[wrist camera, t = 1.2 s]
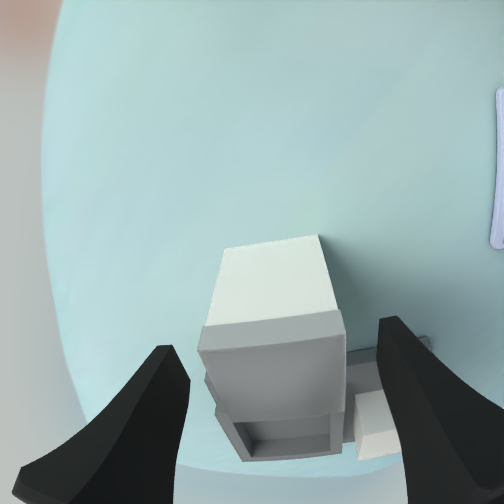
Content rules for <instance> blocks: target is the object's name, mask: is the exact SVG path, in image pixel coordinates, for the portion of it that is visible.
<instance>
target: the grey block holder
mask: <svg viewBox="0 0 504 504" xmlns="http://www.w3.org/2000/svg"><path fill="white" fill-rule="evenodd" d="M418 339H419V340H420V341H421V342H422V343H423V344H424V345H425V346H426V347H427V348H428V349H429V350H430V351H431V350H432V347H431V345H430V342H429V340H428V338H427V336H425V337H421V338H418ZM376 353H377V347H374V348H369V349H364V350H358V351H352V352H347V353H346V391H345V412H340V413H334V414H327V415H320V416H312V417H304V418H294V419H284V420H272V421H257V422H233V423H232V421H231V419H230V418H229V416H228V414H227V412H226V410H225V408H224V406H223V404H222V402H221V400H220V398H219V396H218V394H217V392H216V389H215V387H214V385H213V383H212V381H211V379H210V377H209V375H208V373H207V371H206V375H205V380H204V381H205V383H206V385H207V387H208V389H209V391H210V393H211V395H212V397H213V399H214V401H215V403H216V409H215V416H216V418H217V420H218V422H219V423H220V425H221V427H222V429H223V430H224V432H225V434H226V435H227V437H228V439H229V440H230V442H231V444H232V445H233V447H234V449H235V450H236V452H237V454H238V455H239V457H240V458H241V460H242V462H251V461H275V460H289V459H300V458H310V457H318V456H326V455H333V454H340V453H342V443H347V442H353V441H355V444H356V451H357V457H358V461H360V460H365V459H370V458H375V457H380V456H384V455H388V454H393V453H397V452H401V445H400V441H399V437H398V433H397V430H396V427H395V424H394V421H393V418H392V415H391V412H390V408H389V405H388V402H387V399H386V396H385V393H384V390H383V387H382V384H381V380H380V376H379V371H378V366H377V362H376Z"/></svg>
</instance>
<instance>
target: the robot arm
mask: <svg viewBox="0 0 504 504" xmlns="http://www.w3.org/2000/svg"><path fill="white" fill-rule="evenodd" d="M496 110H497V176H496V191H495V202H494V212H493V220H492V228H491V235H490V245H491V246H492V247H493V248H494V249H495V250H499V249H503V248H504V87H501V88H499V89H498V90H497V92H496ZM376 362H377V366H378V371H379V376H380V380H381V384H382V387H383V390H384V393H385V396H386V399H387V402H388V405H389V408H390V412H391V415H392V418H393V421H394V424H395V427H396V430H397V433H398V437H399V441H400V445H401V451H402V456H403V463H404V469H405V477H406V484H407V496H408V504H504V409H503V408H501V407H500V406H498V405H496V404H495V403H493V402H491V401H490V400H488V399H487V398H485V397H484V396H482V395H481V394H480V393H478V392H477V391H475V390H474V389H473V388H471V387H470V386H469V385H467V384H466V383H465V382H464V381H463V380H461V379H460V378H459V377H458V376H457V375H455V374H454V373H453V372H452V371H451V370H450V369H449V368H448V367H446V366H445V365H444V364H443V363H442V362H441V361H440V360H439V359H438V358H437V357H436V356H435V355H434V354H433V353H432V352H431V351H430V350H429V349H428V348H427V347H426V346H425V345H424V344H423V343H422V342H421V341H420V340H419V339H418V338H417V337H416V336H415V335H414V334H413V333H412V331H411V330H410V329H409V328H408V327H407V326H406V325H405V324H404V323H403V322H402V321H401V319H400V318H399V317H397V316H392V317H387V318H381V319H379V331H378V343H377V353H376ZM190 381H191V380H190V378H189V376H188V374H187V373H186V371H185V369H184V367H183V365H182V363H181V361H180V359H179V357H178V355H177V353H176V351H175V349H174V347H173V345H159V346H157V347H156V348H155V349H154V350H153V351H152V353H151V354H150V355H149V356H148V357H147V359H146V360H145V361H144V363H143V364H142V365H141V366H140V368H139V369H138V370H137V371H136V373H135V374H134V375H133V376H132V377H131V379H130V380H129V381H128V382H127V383H126V385H125V386H124V387H123V388H122V389H121V391H120V392H119V393H118V394H117V395H116V396H115V397H114V398H113V399H112V401H111V402H110V403H109V404H108V405H107V406H106V407H105V408H104V409H103V410H102V411H101V412H100V413H99V414H98V415H97V416H96V417H95V418H94V419H93V420H92V421H91V422H90V423H89V424H88V425H86V426H85V427H84V428H83V429H82V430H80V431H79V432H78V433H77V434H75V435H74V436H73V437H71V438H70V439H69V440H68V441H66V442H65V443H64V444H62V445H61V446H59V447H58V448H57V449H55V450H53V451H52V452H50V453H48V454H47V455H45V456H43V457H41V458H39V459H37V460H35V461H34V462H31V463H29V464H28V465H26V466H23V467H21V469H20V472H19V475H18V477H17V479H16V482H15V485H14V487H13V490H12V494H13V495H14V496H15V497H17V498H18V499H20V500H21V501H23V502H25V503H26V504H173V493H174V492H173V491H174V476H175V465H176V459H177V453H178V449H179V444H180V440H181V436H182V431H183V427H184V423H185V418H186V414H187V409H188V404H189V394H190Z"/></svg>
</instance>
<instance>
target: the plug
mask: <svg viewBox="0 0 504 504" xmlns="http://www.w3.org/2000/svg"><path fill="white" fill-rule="evenodd" d="M197 351H198V353H199V355H200V358H201V360H202V362H203V364H204V366H205V368H206V371H207V373H208V375H209V377H210V379H211V381H212V383H213V385H214V387H215V389H216V392H217V394H218V396H219V398H220V400H221V402H222V404H223V406H224V408H225V410H226V412H227V414H228V416H229V418H230V419H231V421H232V423H233V422H257V421H272V420H284V419H294V418H304V417H312V416H320V415H327V414H334V413H340V412H345V391H346V330H345V326H344V322H343V319H342V315H341V311H340V309H338V307H337V303H336V299H335V295H334V292H333V288H332V284H331V280H330V277H329V273H328V269H327V266H326V262H325V259H324V255H323V252H322V248H321V245H320V241H319V238H318V234H317V235H311V236H304V237H297V238H291V239H284V240H278V241H271V242H265V243H258V244H252V245H245V246H239V247H232V248H226V249H225V250H224V254H223V258H222V262H221V266H220V270H219V273H218V277H217V281H216V285H215V289H214V293H213V297H212V301H211V305H210V309H209V313H208V317H207V321H206V325H205V326H203V328H202V332H201V336H200V340H199V344H198V348H197Z"/></svg>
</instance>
